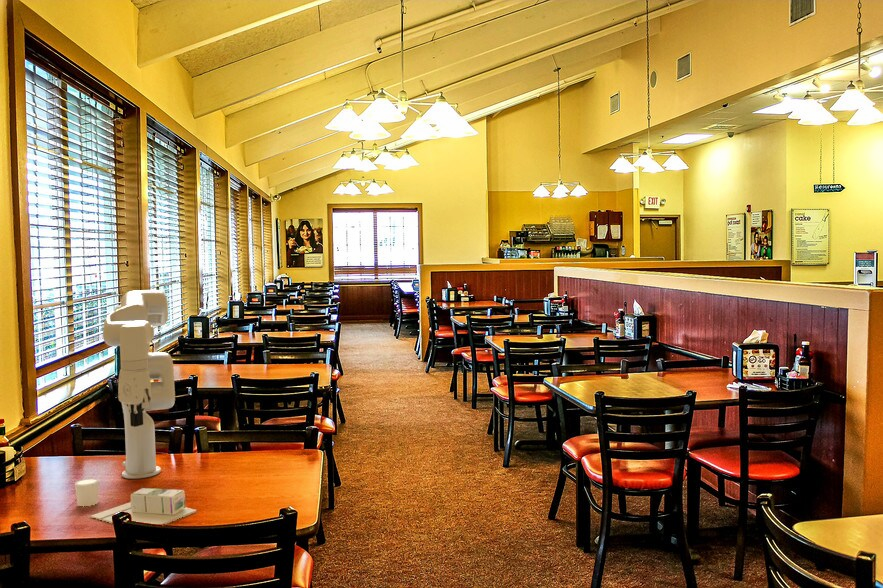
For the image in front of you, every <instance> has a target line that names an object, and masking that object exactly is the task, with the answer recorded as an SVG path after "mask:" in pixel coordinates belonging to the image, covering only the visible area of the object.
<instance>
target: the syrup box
mask: <svg viewBox="0 0 883 588" xmlns="http://www.w3.org/2000/svg"><path fill="white" fill-rule="evenodd" d="M185 493H186V492H185V489H171V488H170V489H169V488H168V489H167V488H151V487H141V488H139V489H138V490H136V491H134V492H132V493H131V494H130V502H131V512H137V513H151V514H168V515H175V514H176V513H178V512H180V511H181V510H183V509H184V508H185V507H186V494H185Z"/></svg>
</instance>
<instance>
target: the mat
mask: <svg viewBox="0 0 883 588" xmlns="http://www.w3.org/2000/svg"><path fill="white" fill-rule="evenodd" d="M120 511H125V512H128V513H130V514H131V516H132V521H136V522H144V523H151V524H165V525H168V524H170V523H172V521H173V522H175V521H177V519H178V520H180V519H183V518H186V517H188V516H189V515H192V514H196V513H197V509H193V508H190V507H187V506H185V508H184V509H183V510H181V511H180V512H178V513H176V514H175V515H168V514H151V513H137V512H131V501H129V502H126V503H124V504H120V505H118V506H115V507H113V508H109V509H106V510H103V511H100V512H97V513H94V514H92V515H90V518H91V517H92V518H91V519H93V518H96V519H95V520H97V519H99V520H98V521H100V520H102V521H101V522H104V521H106V522H105V523H107V522H109V523H108V524H112V515H113V514H115V513H117V512H120ZM182 517H183V518H182ZM179 518H180V519H179ZM112 525H113V524H112Z"/></svg>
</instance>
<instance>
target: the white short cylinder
mask: <svg viewBox="0 0 883 588" xmlns="http://www.w3.org/2000/svg"><path fill="white" fill-rule="evenodd" d="M99 486H100V479H99V478H85V479H81V480H78V481H76V482H74V490H75V495H76V496H75V497H76V503H77V507H79V506H83V507H82V508H85V507H84V506H89V507H92V506H91V505H93V506H96V505H97V504H98V503H99V489H100V487H99ZM95 504H96V505H95Z"/></svg>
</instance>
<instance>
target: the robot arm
mask: <svg viewBox="0 0 883 588" xmlns="http://www.w3.org/2000/svg"><path fill="white" fill-rule="evenodd" d="M168 317H169V303H168V299H167V296H166V294H165V293H164V292H163V291H162V290H159V289H144V290H142V289H141V290H140V289H139V290H130V291H127V292H126V293H124V294H123V295H122V297H121V300H120V304H119V305H117V306H116V307H115V309H114V311H112V312H110V313H109V314H108V315H107V316H106V317H105V318H104V323H103V329H102V337H103V341H104V343H105V344H106V345H107V346H109V347H119V352H120V355H119V356H120V370H119V374H118V383H117V384H118V388H117V391H118V392H117V393H118V394H117V395H118V396H117V397H118V401H119V402H120V403H121V408H122V414H123V420H124V434H125V435H124V436H125V439H124V441H125V442H124V443H125V461H122V462H121V465H122V466H123V467H125V470H123V471H122V472H121V477H123V478H125V479H128V480H131V479H132V480H135V479H136V480H137V479H145V478H151V477H154V476H156V475H158V474H160V473H161V471H162V469H161V467H160V466H158V465H157V458H156V436H155V435H156V433H155V432H156V431H155V422H154V420H153V418H152V417H151V416H150V415H149V414H148V413H147V412H150V411H158V410H168V409H171V408H173V406H174V405H175V401H176V391H175V389H176V388H175V373H174V372H175V370H174V363H173V362H174V361H173V357H172V356H171V354H170V353H167V352H163V351H161V352H159V351H158V352H151V346H150V345H151V342H152V340H153V339H154V337H155V328H154V327H161V326H164V325H165V324H166V323H167V322H168ZM151 380H153V381H154V380H158V381H159V382H151Z"/></svg>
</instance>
